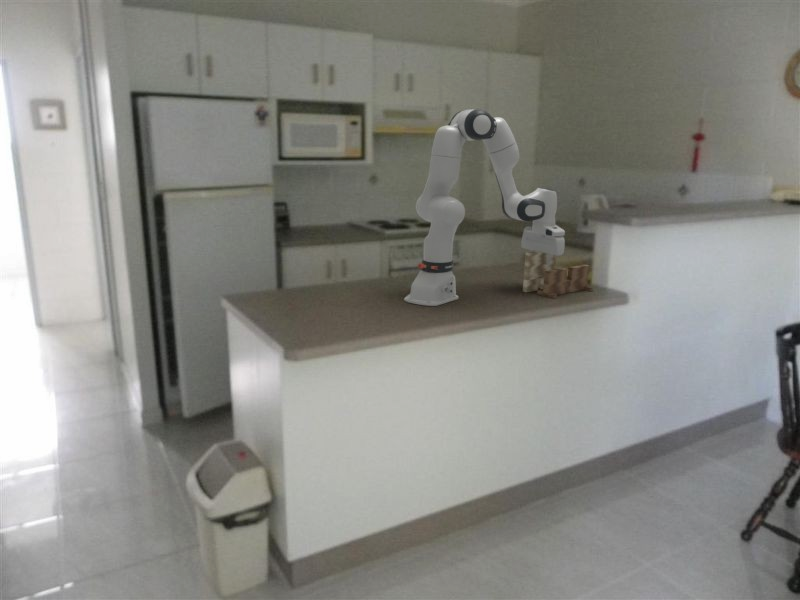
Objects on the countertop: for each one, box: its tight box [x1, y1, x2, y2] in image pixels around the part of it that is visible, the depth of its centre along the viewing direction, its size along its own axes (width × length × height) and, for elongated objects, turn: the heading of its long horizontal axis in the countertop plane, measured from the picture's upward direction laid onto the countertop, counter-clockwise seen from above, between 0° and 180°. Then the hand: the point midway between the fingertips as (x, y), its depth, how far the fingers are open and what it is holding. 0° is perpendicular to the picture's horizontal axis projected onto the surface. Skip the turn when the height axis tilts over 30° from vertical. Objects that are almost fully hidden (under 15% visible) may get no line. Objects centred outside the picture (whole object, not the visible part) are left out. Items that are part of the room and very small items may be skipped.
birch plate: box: [522, 251, 557, 293], centre depth 243 cm, size 16×2×16 cm, turn 124°
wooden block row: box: [536, 264, 594, 300], centre depth 240 cm, size 24×8×10 cm, turn 124°
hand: (540, 262), depth 242 cm, fingers open, 6 cm apart
